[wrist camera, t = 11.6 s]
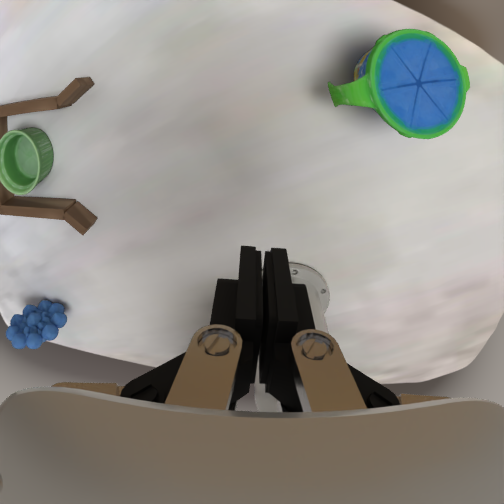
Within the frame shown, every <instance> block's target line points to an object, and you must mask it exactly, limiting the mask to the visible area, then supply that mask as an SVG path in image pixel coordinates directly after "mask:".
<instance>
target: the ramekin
mask: <svg viewBox="0 0 504 504" xmlns="http://www.w3.org/2000/svg"><path fill="white" fill-rule="evenodd" d="M52 163H53V149H52V145H51V143H50V140H49V138H48V137H47V135H46V134H45V133H44V132H43V131H41V130H40V129H37V128H26V129H22V130H12V131H9V132H7V133H6V134H5V135H3V137H2V138H1V139H0V181H1V183H2V184H3V185H4V187H5V188H6V189H7V190H9V191H10V192H12V193H14V194H17V195H24V194H27V193H29V192H30V191H32V190H33V189H34V188H35V186H36V185H37V184H38V183H39V182H41V181H42V180H43V179H44V178H45V177H46V176H47V175H48V173H49V172H50V170H51V167H52Z"/></svg>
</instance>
